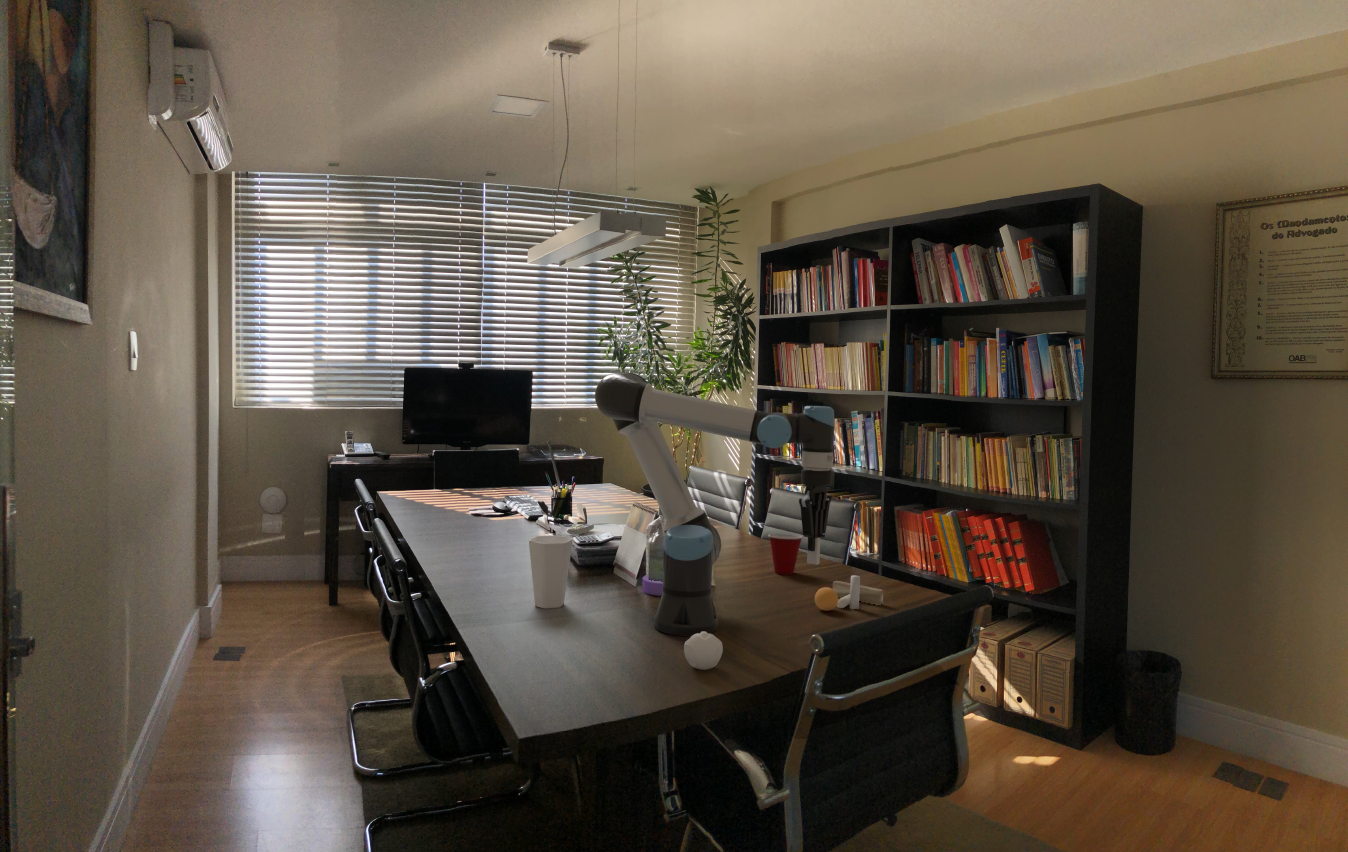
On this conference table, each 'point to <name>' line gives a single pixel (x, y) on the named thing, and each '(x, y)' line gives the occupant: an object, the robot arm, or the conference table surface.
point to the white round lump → (703, 650)
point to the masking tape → (652, 586)
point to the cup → (550, 569)
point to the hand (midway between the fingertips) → (813, 563)
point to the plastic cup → (784, 552)
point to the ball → (826, 599)
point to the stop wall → (865, 594)
